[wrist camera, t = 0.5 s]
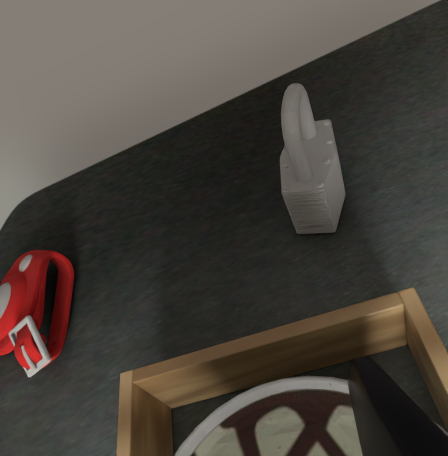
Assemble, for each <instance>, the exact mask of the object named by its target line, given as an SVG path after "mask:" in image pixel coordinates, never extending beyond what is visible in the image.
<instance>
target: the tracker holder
mask: <svg viewBox="0 0 448 456" xmlns="http://www.w3.org/2000/svg"><path fill="white" fill-rule="evenodd" d="M50 259H51V260H52V261H53V262H54V263H55V265H56V267H57V269H58V279H57V286H56V294H55V301H54V308H53V315H52V322H51V328H50V335H49V343H48V347H47V348H46V346H45V344H46V338H45V336H44V335H43V334H41V333H39V330H40V328H41V325H42V321H43V313H44V302H45V288H46V273H47V268H48V264H49V261H50ZM73 283H74V270H73V267H72V264H71V263H70V261H69V260H68V259H67V258H66V257H65V256H64V255H62V254H60V253H58V252H56V251H47V250H32V251H29V252H27V253H25V254H23V255H21V256H20V257H19V258H18V259H17V260H16V261H15V263H14V264H13V266H12V267H11V269H10V270H9V271H8V273H7V274H6V276H5V277H4V279H3V280H2V282H1V283H0V355H6V354H8V353H10V352H11V351H13V350H14V352H15V356H16V358H17V360H18V362H19V363H20V365H21V366H23V367H24V370H25V372H26V374H27V376H28V377H31V376H33V375H34V374H35V373H37V372H38V371H39V370H40V369H42V368H44V367H45V366H46V365H48V364H49V363H51V362H52V361H53V360H54V359H55V358H56V357H58V355H59V354H60V352H61V351H62V349H63V346H64V342H65V338H66V334H67V328H68V322H69V314H70V306H71V299H72V291H73Z"/></svg>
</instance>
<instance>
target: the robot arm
mask: <svg viewBox="0 0 448 456" xmlns="http://www.w3.org/2000/svg"><path fill="white" fill-rule="evenodd" d="M348 389H349V394H350V399H351V404H352V408H353V413H354V418H355V422H356V427H357V432H358V437H359V441H360V446H361V450H362V455H363V456H448V436H447V435H446V434H445V433H444V432H443V431H442V430H441V429H440V428H439V427H438V426H437V425H436V424H435V423H434V422H433V420H432V419H431V418H430V417H429V416H428V415H427V414H426V413H425V412H424V411H423V410H422V409H421V408H420V407H419V406H418V405H417V404H416V403H415V402H414V401H413V400H412V399H411V398H410V397H409V396H408V395H407V394H406V393H405V392H404V391H403V390H402V389H401V388H400V387H399V386H398V385H397V384H396V383H395V382H394V381H393V380H392V379H391V377H390V376H389V375H388V374H387V373H386V372H385V371H384V370H383V369H382V368H381V367H380V366H379V365H378V364H377V363H376V362H375V361H374V360H373V359H371V358H368V357H365V358H354V359H353V360H352V362H351V367H350V373H349V379H348Z"/></svg>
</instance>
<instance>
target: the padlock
mask: <svg viewBox="0 0 448 456" xmlns="http://www.w3.org/2000/svg"><path fill="white" fill-rule="evenodd" d="M281 125H282V133H283V138H284V142H285V146H284V149H283V151H282V154H281V156H280V170H281V191H282V196H283V199H284V201H285V203H286V206H287V209H288V211H289V214H290V217H291V220H292V222H293V225H294V227H295V230H296V233H297V234H314V233H334V232H335V231H336V228H337V225H338V221H339V217H340V213H341V210H342V206H343V202H344V198H345V189H344V183H343V178H342V172H341V167H340V162H339V157H338V152H337V148H336V143H335V138H334V134H333V129H332V124H331V121H330V120H329V119H327V120H321V121H314V118H313V114H312V110H311V106H310V102H309V99H308V95H307V92H306V90H305V88H304V87H303V86H302V85H301V84H291V85H289V86H288V88H287V89H286V91H285V93H284V97H283V102H282V110H281Z"/></svg>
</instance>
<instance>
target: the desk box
mask: <svg viewBox="0 0 448 456" xmlns="http://www.w3.org/2000/svg"><path fill="white" fill-rule="evenodd" d="M407 344H408V346H409V348H410V351H411V353H412V355H413V357H414V359H415V362H416V364H417V366H418V368H419V370H420V372H421V375H422V377H423V379H424V381H425V383H426V386H427V388H428V390H429V392H430V394H431V397H432V399H433V401H434V403H435V405H436V408H437V410H438V412H439V414H440V416H441V419H442V421H443V423H444V425H445V427H446V430H447V432H448V352H447V350H446V348H445V346H444V344H443V342H442V340H441V339H440V337H439V335H438V333H437V331H436V329H435V327H434V325H433V323H432V321H431V319H430V317H429V315H428V313H427V312H426V310H425V308H424V306H423V304H422V302H421V300H420V298H419V296H418V294H417V292H416V290H415V289H414V288H413V287H412V288H409V289H405V290H402V291H399V292H398V293H397V292H395V293H392V294H389V295H385V296H382V297H378V298H375V299H372V300H368V301H365V302H361V303H358V304H355V305H351V306H348V307H344V308H341V309H338V310H334V311H331V312H328V313H324V314H321V315H317V316H314V317H311V318H307V319H304V320H300V321H297V322H294V323H290V324H287V325H283V326H280V327H277V328H273V329H270V330H267V331H263V332H260V333H256V334H253V335H250V336H246V337H243V338H239V339H236V340H233V341H229V342H226V343H222V344H219V345H216V346H212V347H209V348H206V349H202V350H199V351H195V352H192V353H189V354H185V355H182V356H178V357H175V358H172V359H168V360H165V361H161V362H158V363H155V364H151V365H148V366H145V367H141V368H138V369H134V370H131V371H127V372H124V373H121V374H120V392H119V414H118V435H117V456H173V441H172V413H171V408H175V407H179V406H183V405H187V404H190V403H194V402H198V401H201V400H205V399H209V398H212V397H216V396H220V395H224V394H227V393H231V392H235V391H238V390H242V389H246V388H249V387H253V386H257V385H261V384H264V383H268V382H272V381H275V380H279V379H283V378H286V377H290V376H294V375H298V374H301V373H305V372H309V371H312V370H316V369H320V368H323V367H327V366H331V365H335V364H338V363H342V362H346V361H349V360H353V359H354V358H360V357H364V356H368V355H372V354H375V353H379V352H383V351H386V350H390V349H394V348H397V347H401V346H405V345H407Z"/></svg>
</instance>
